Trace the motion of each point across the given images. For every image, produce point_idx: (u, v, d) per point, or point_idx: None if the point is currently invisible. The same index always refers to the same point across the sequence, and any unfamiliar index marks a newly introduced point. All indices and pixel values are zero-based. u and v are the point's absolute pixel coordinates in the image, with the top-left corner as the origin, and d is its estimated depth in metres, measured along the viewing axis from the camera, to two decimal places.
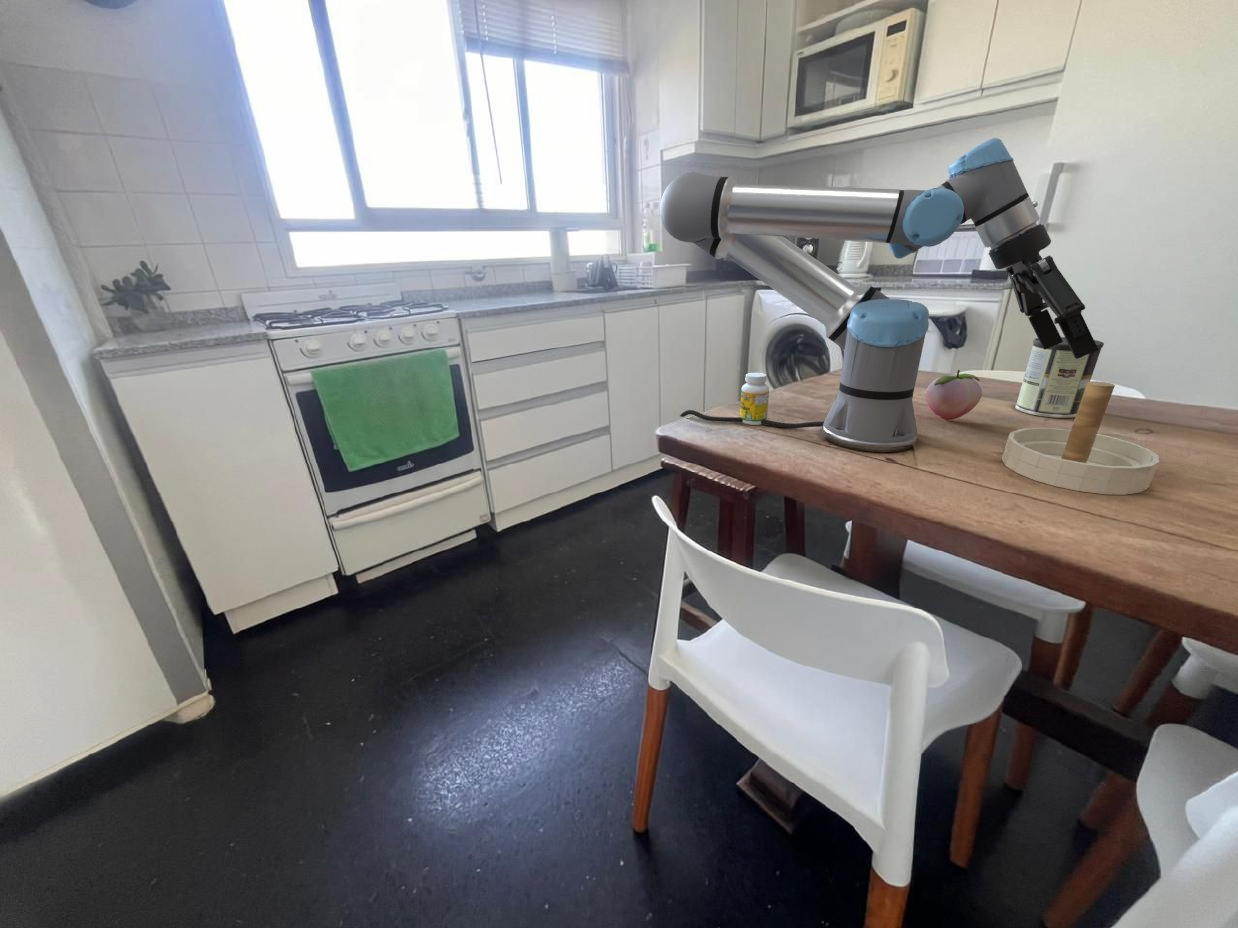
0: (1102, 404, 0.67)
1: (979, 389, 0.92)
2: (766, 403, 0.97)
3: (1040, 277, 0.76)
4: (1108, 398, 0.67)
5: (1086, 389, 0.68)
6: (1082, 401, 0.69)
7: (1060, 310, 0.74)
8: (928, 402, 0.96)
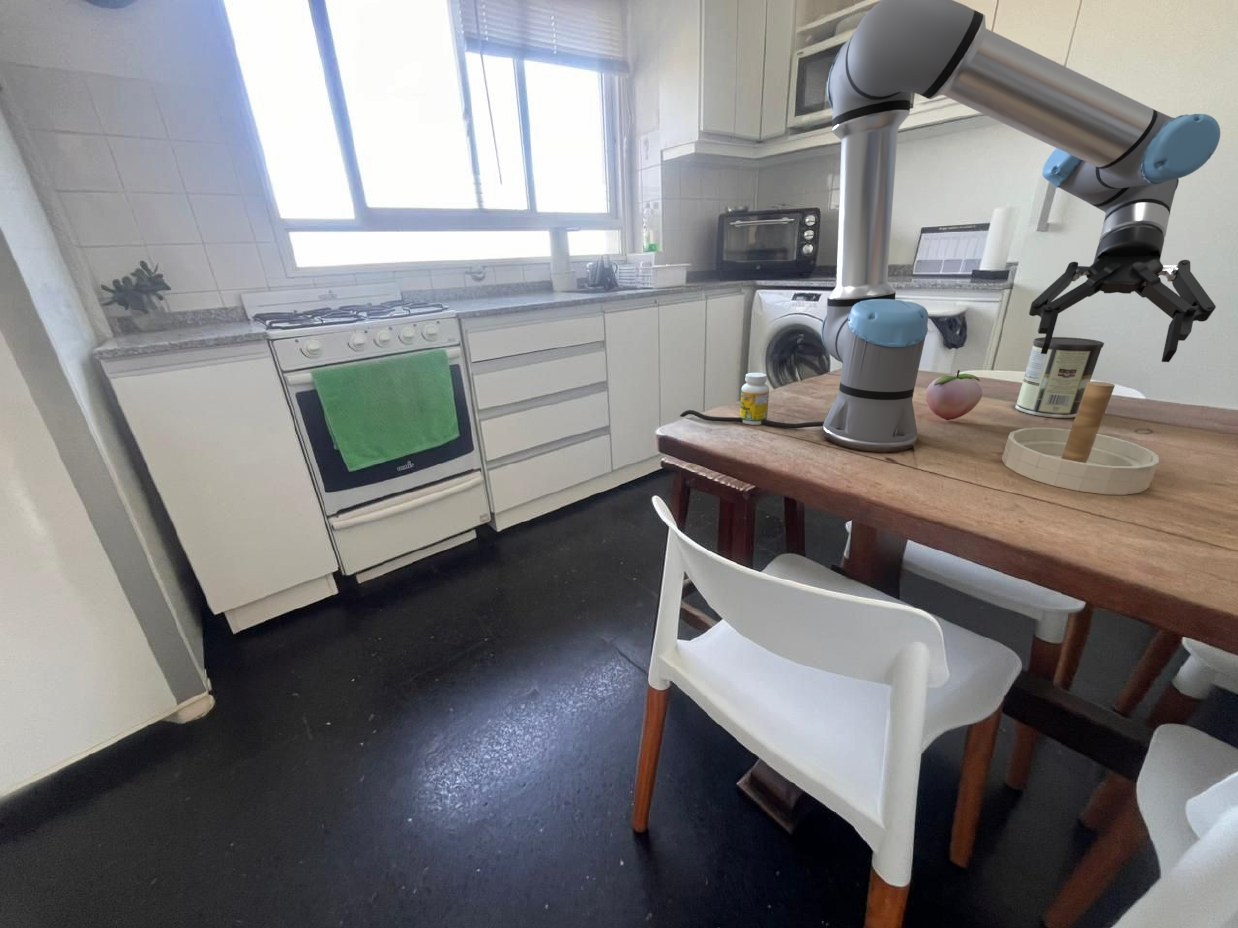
0: (1102, 404, 0.67)
1: (979, 389, 0.92)
2: (766, 403, 0.97)
3: (1190, 272, 0.72)
4: (1108, 398, 0.67)
5: (1086, 389, 0.68)
6: (1082, 401, 0.69)
7: (1207, 303, 0.69)
8: (928, 402, 0.96)
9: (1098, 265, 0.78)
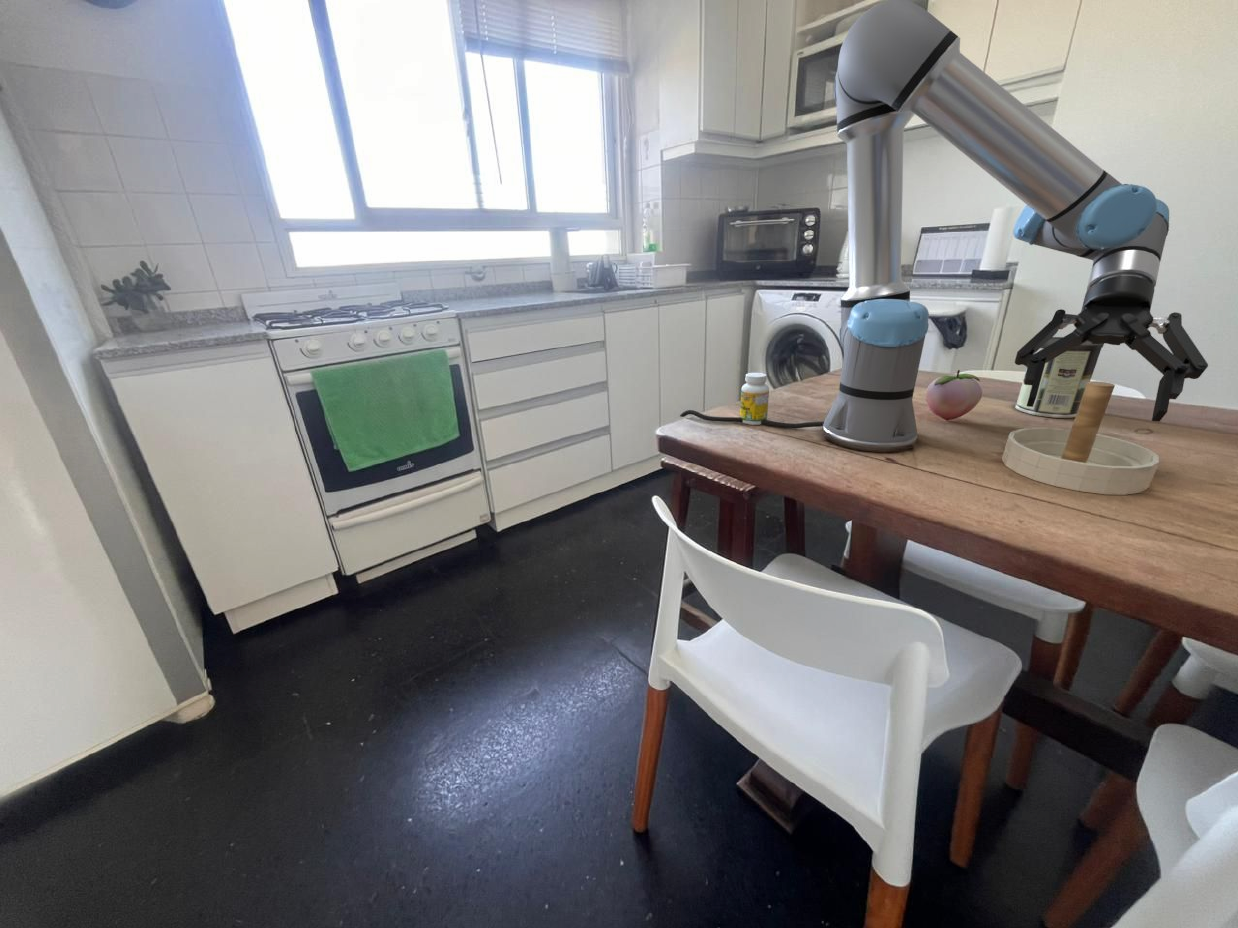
0: (1102, 404, 0.67)
1: (979, 389, 0.92)
2: (766, 403, 0.97)
3: (1181, 326, 0.69)
4: (1108, 398, 0.67)
5: (1086, 389, 0.68)
6: (1082, 401, 0.69)
7: (1199, 360, 0.66)
8: (928, 402, 0.96)
9: (1086, 314, 0.75)
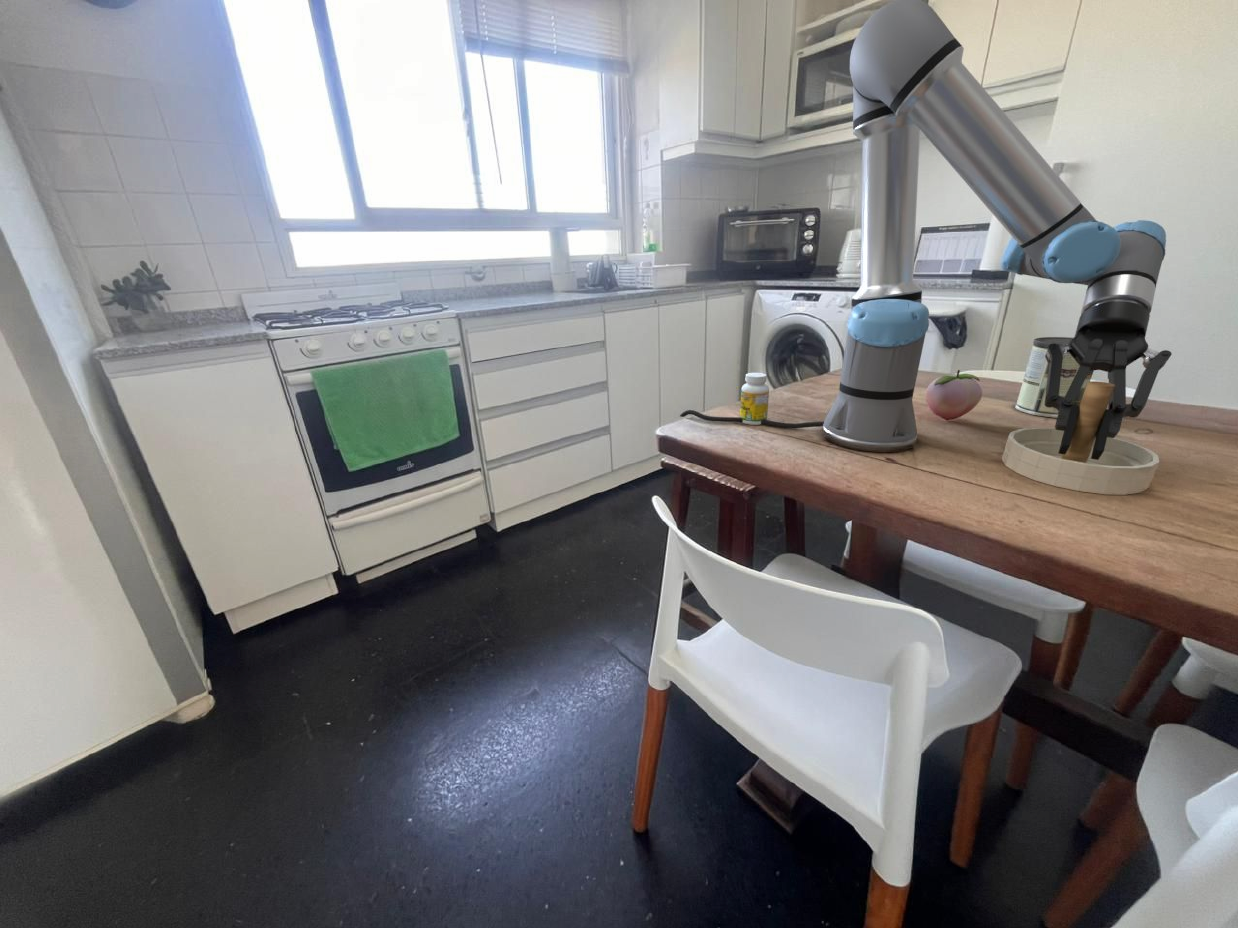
0: (1102, 404, 0.67)
1: (979, 389, 0.92)
2: (766, 403, 0.97)
3: (1160, 366, 0.67)
4: (1108, 398, 0.67)
5: (1086, 389, 0.68)
6: (1082, 401, 0.69)
7: (1141, 400, 0.66)
8: (928, 402, 0.96)
9: (1079, 339, 0.73)
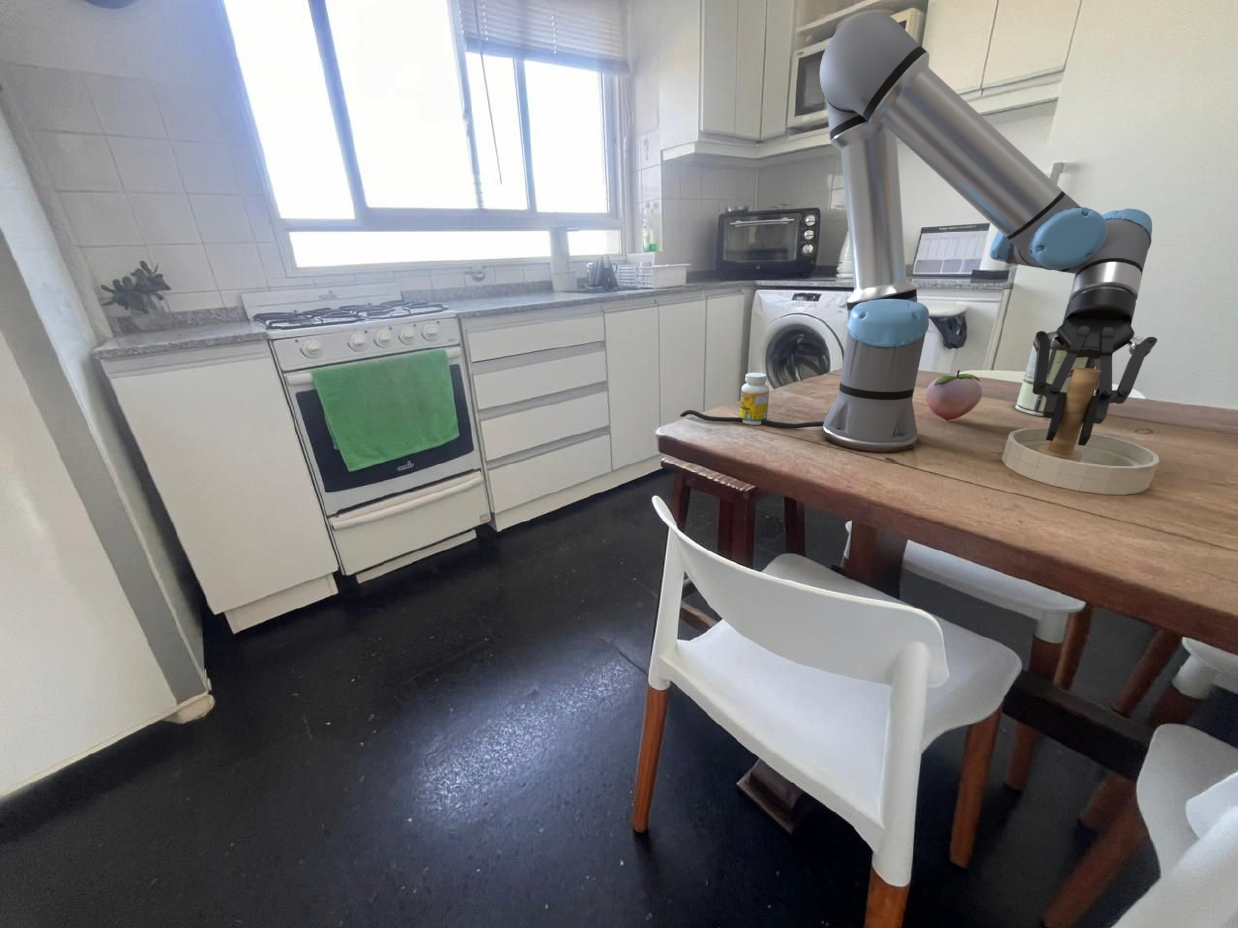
0: (1089, 390, 0.67)
1: (979, 389, 0.92)
2: (766, 403, 0.97)
3: (1146, 352, 0.68)
4: (1095, 384, 0.67)
5: (1073, 375, 0.69)
6: (1069, 387, 0.69)
7: (1127, 386, 0.67)
8: (928, 402, 0.96)
9: (1067, 327, 0.73)
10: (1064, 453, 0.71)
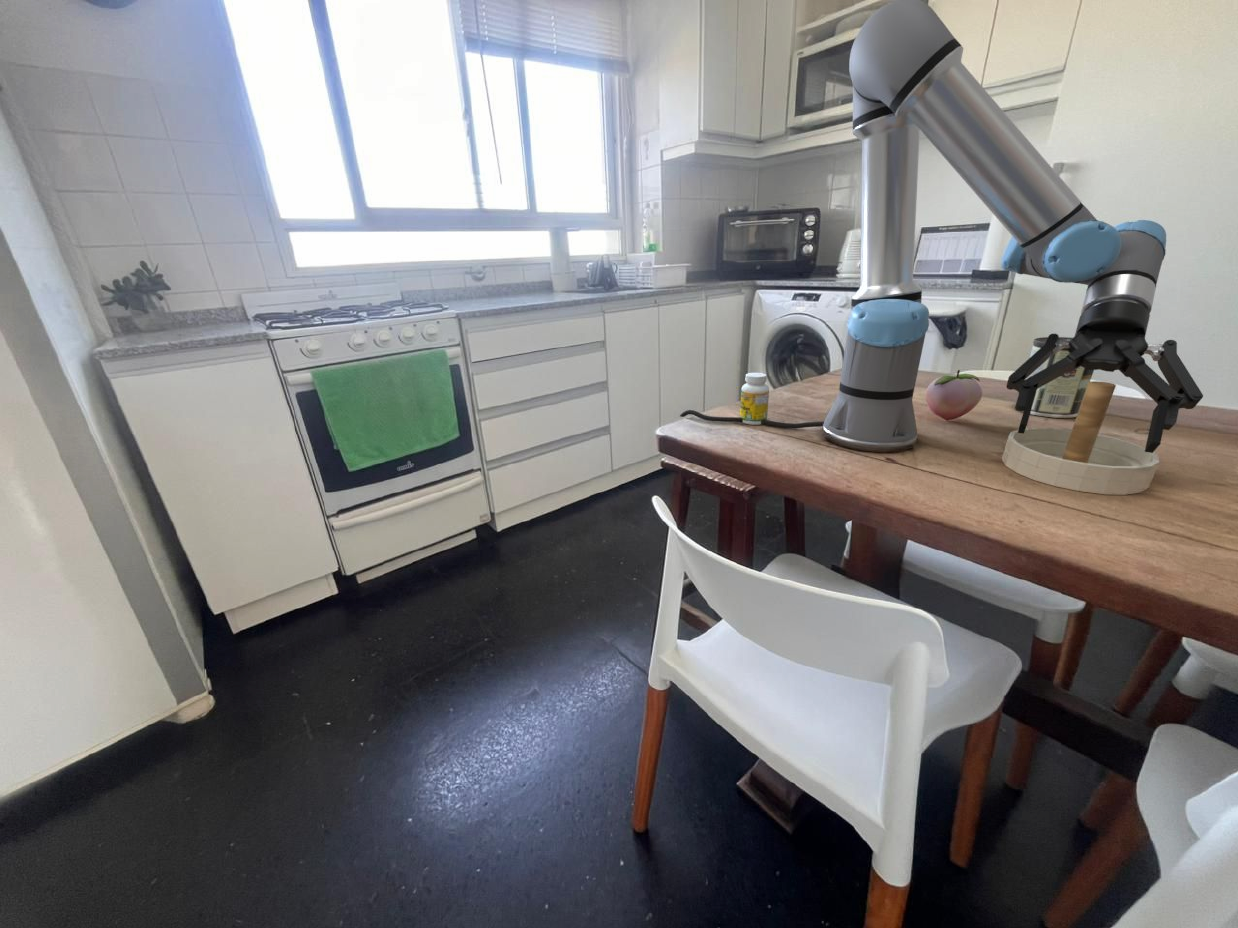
0: (1103, 404, 0.67)
1: (979, 389, 0.92)
2: (766, 403, 0.97)
3: (1176, 354, 0.67)
4: (1109, 398, 0.67)
5: (1087, 389, 0.68)
6: (1083, 401, 0.69)
7: (1194, 390, 0.64)
8: (928, 402, 0.96)
9: (1079, 339, 0.73)
10: None
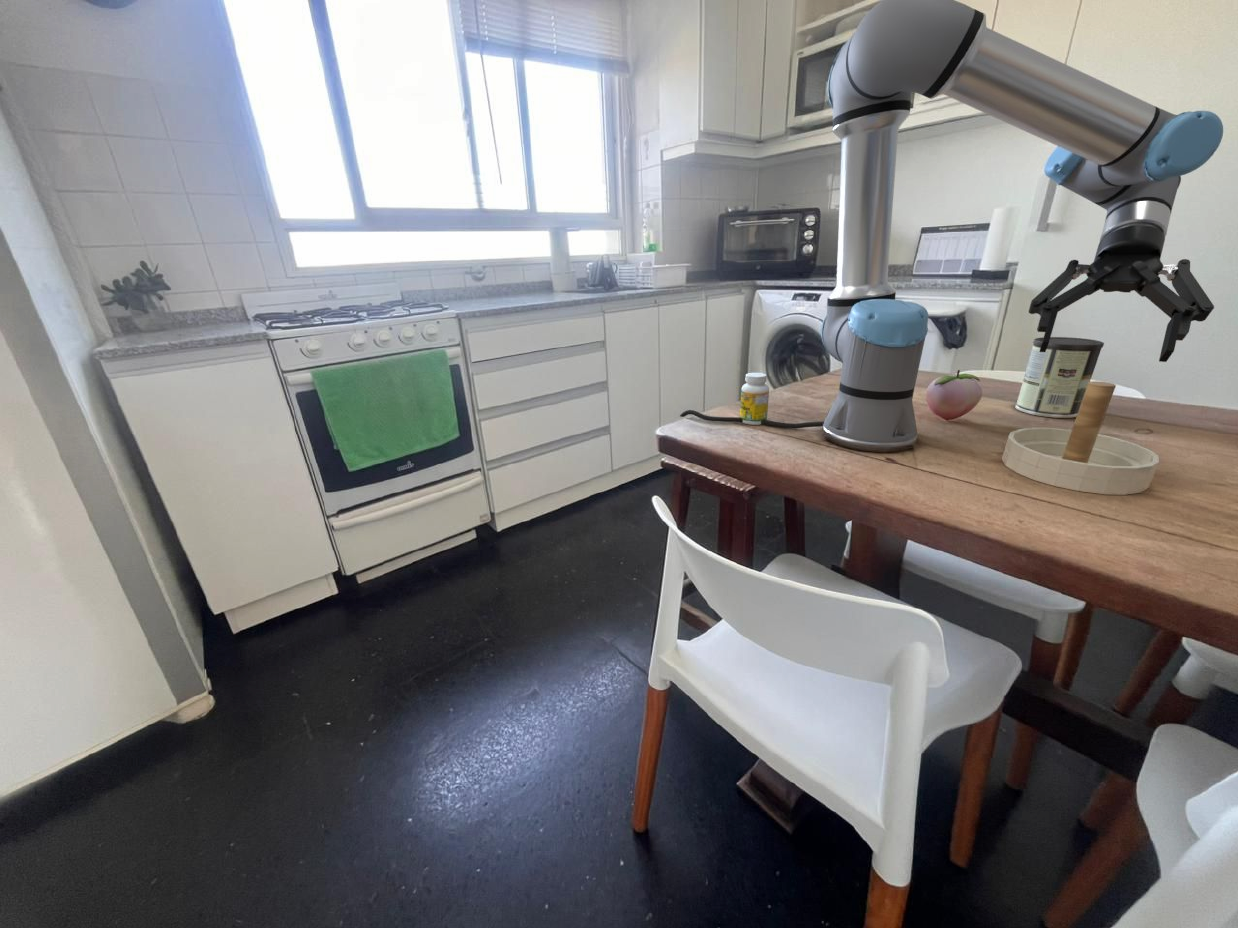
0: (1103, 404, 0.67)
1: (979, 389, 0.92)
2: (766, 403, 0.97)
3: (1190, 272, 0.72)
4: (1109, 398, 0.67)
5: (1087, 389, 0.68)
6: (1083, 401, 0.69)
7: (1206, 303, 0.69)
8: (928, 402, 0.96)
9: (1098, 263, 0.78)
10: None
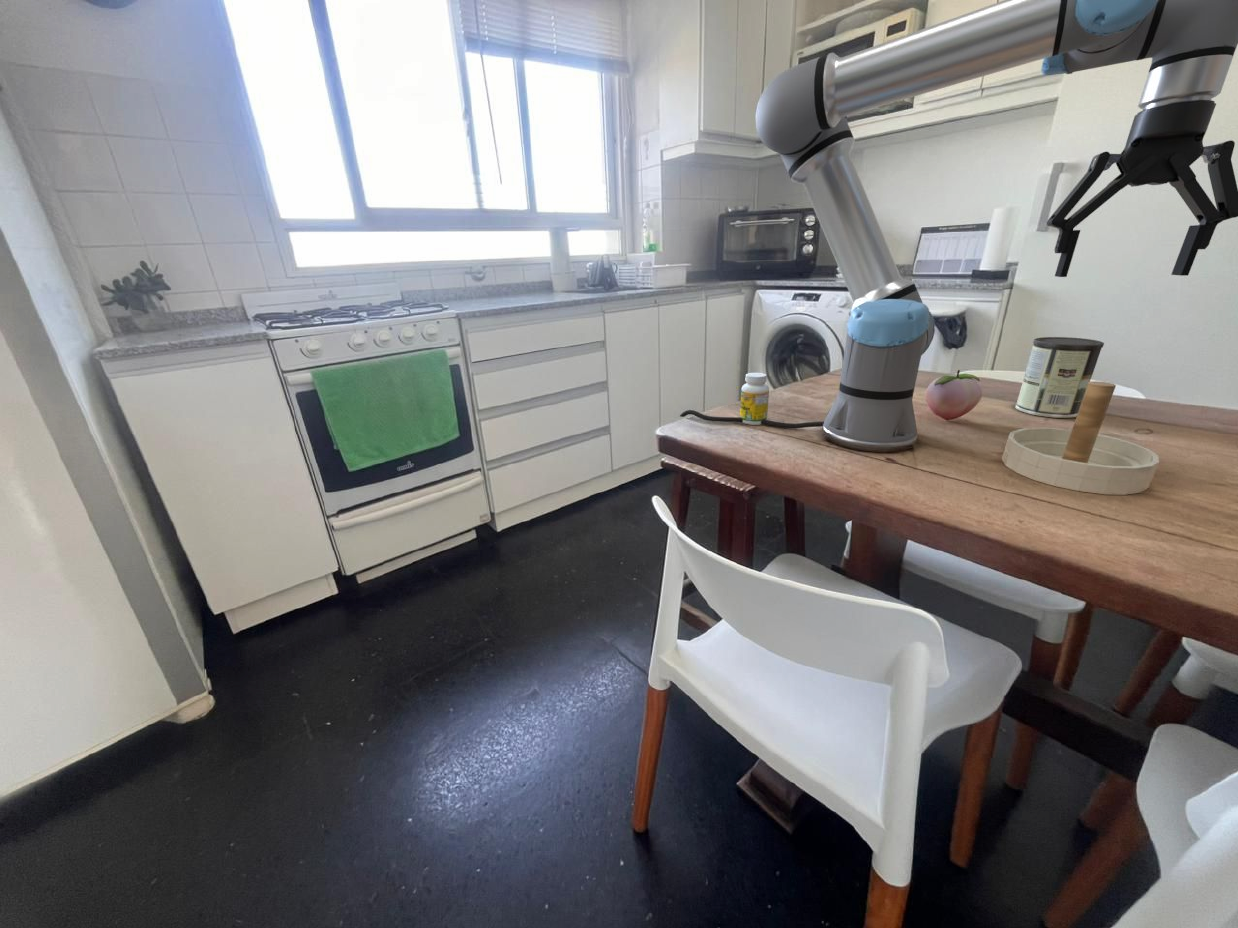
0: (1103, 404, 0.67)
1: (979, 389, 0.92)
2: (766, 403, 0.97)
3: (1230, 160, 0.64)
4: (1109, 398, 0.67)
5: (1087, 389, 0.68)
6: (1083, 401, 0.69)
7: (1235, 206, 0.66)
8: (928, 402, 0.96)
9: (1132, 155, 0.68)
10: None
